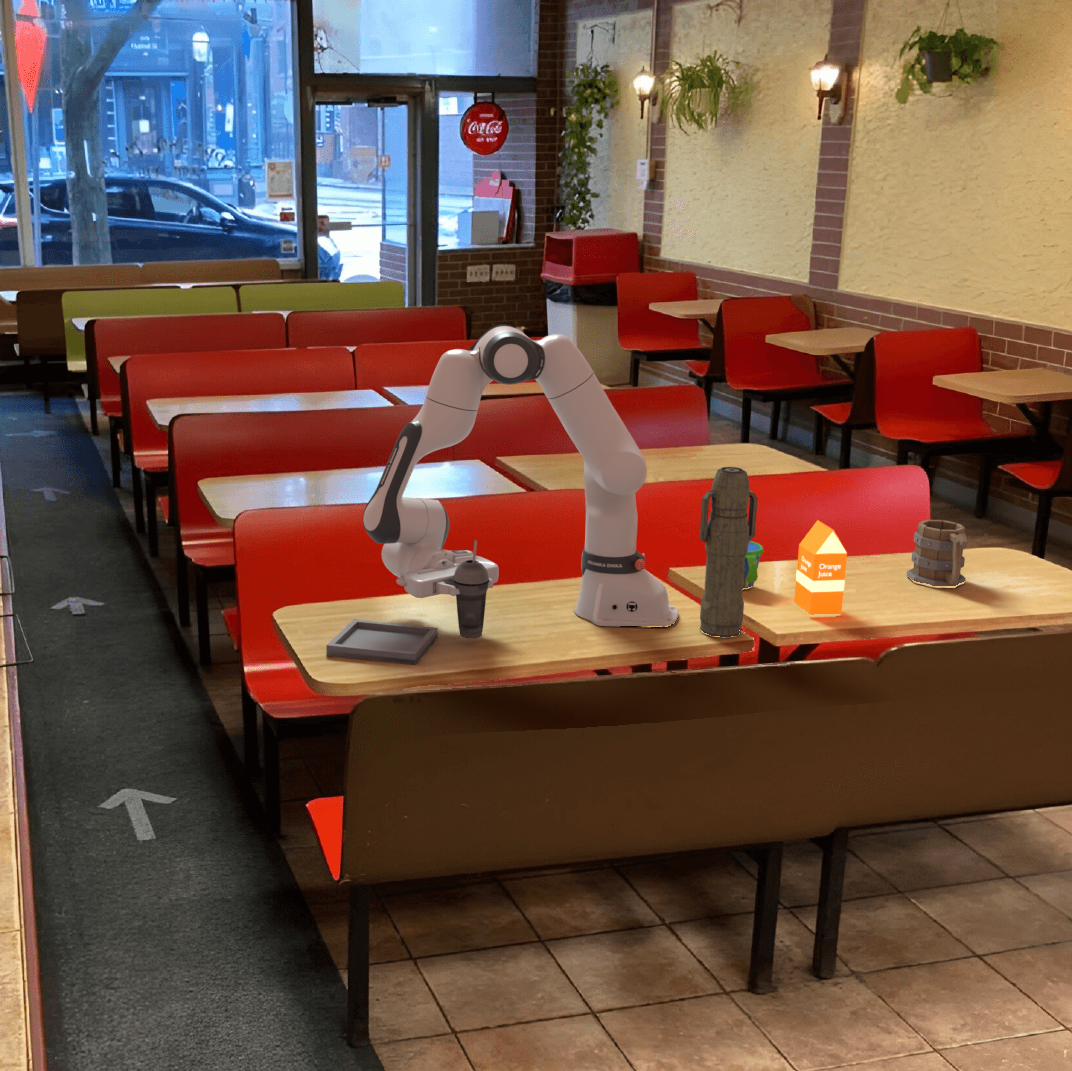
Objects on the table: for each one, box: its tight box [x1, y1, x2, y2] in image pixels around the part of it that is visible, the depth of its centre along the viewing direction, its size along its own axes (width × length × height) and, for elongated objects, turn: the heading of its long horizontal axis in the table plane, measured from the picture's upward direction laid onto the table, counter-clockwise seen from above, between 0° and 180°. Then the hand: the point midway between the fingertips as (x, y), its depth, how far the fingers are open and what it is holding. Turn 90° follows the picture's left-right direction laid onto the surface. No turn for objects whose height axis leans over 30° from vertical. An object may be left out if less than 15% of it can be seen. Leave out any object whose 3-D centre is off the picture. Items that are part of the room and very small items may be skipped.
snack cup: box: [743, 540, 764, 588], centre depth 310 cm, size 16×10×10 cm
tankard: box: [906, 519, 969, 586], centre depth 316 cm, size 20×13×15 cm, turn 3°
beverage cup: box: [453, 539, 489, 640], centre depth 265 cm, size 7×7×20 cm
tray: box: [325, 619, 439, 666], centre depth 265 cm, size 18×16×2 cm
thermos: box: [699, 466, 759, 637], centre depth 276 cm, size 9×12×35 cm
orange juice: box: [793, 519, 848, 615], centre depth 293 cm, size 8×9×20 cm
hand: (473, 588), depth 264 cm, fingers closed on beverage cup, 7 cm apart
